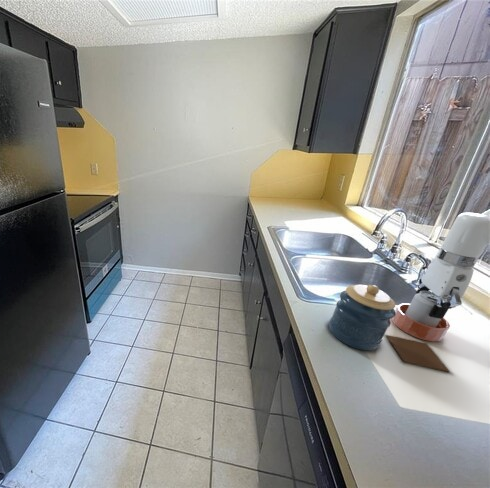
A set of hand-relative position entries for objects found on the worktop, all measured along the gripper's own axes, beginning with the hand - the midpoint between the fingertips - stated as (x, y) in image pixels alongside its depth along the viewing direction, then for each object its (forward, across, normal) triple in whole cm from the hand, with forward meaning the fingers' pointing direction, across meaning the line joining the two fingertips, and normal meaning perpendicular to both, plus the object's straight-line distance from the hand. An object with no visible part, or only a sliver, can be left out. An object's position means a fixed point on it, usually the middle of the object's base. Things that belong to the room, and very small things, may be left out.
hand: (426, 308), depth 79 cm
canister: (+8, -10, +21) cm, 25 cm away
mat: (+8, -12, +6) cm, 16 cm away
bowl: (+8, 0, 0) cm, 8 cm away
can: (+8, 0, 0) cm, 8 cm away
